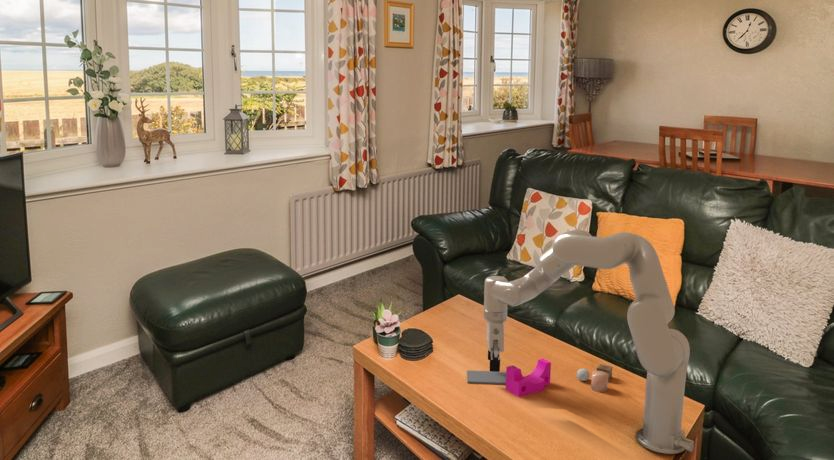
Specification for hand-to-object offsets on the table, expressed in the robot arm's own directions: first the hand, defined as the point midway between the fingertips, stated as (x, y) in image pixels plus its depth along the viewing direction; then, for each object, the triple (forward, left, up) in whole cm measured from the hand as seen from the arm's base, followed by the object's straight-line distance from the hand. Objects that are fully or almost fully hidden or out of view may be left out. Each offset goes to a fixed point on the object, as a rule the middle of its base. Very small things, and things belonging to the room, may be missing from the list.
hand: (493, 365), depth 188 cm
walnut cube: (-21, -30, -5) cm, 37 cm away
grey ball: (-18, -23, -4) cm, 30 cm away
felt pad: (0, 0, -4) cm, 4 cm away
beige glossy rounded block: (-25, -22, -4) cm, 34 cm away
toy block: (-12, -5, -5) cm, 14 cm away
